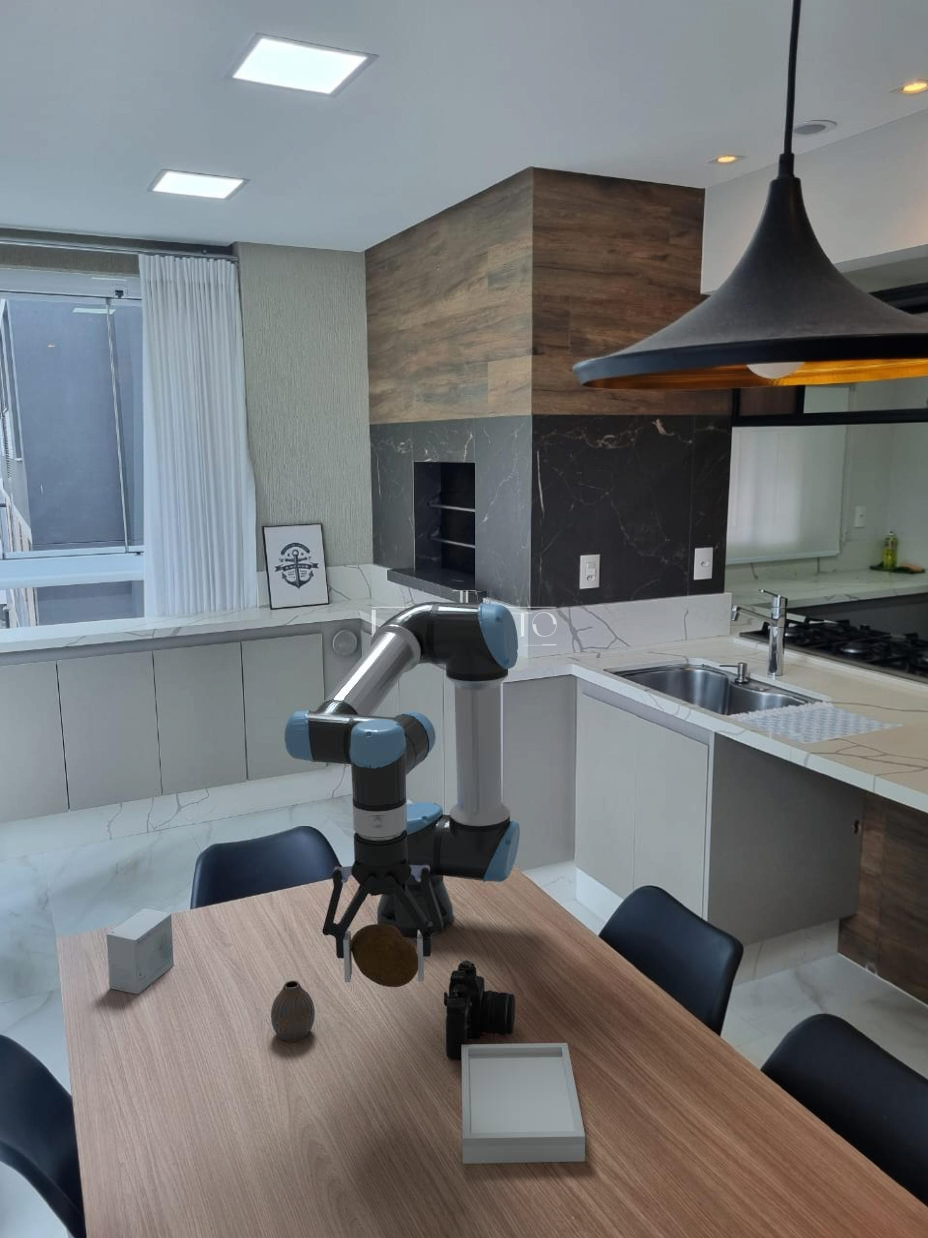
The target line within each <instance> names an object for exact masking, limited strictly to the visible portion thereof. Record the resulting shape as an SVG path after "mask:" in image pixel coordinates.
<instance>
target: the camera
mask: <svg viewBox="0 0 928 1238" xmlns="http://www.w3.org/2000/svg"><path fill="white" fill-rule="evenodd" d="M450 974H451V975H450V977H449V981H450V982H449V985H448V993H447V992H446V991H444V993H443V1005H444V1006H445V1010H446V1012H445V1013H446V1017H445V1053H446V1057H447V1058H448V1059H450V1060H454V1061H455V1060H456V1061H462V1045H469V1044H470V1041H472V1040H480V1039H481V1037H482V1035H483V1034H486V1035H496V1036H506V1035H512V1034H514V1030H515V1029H514V1028H515V1020H516V1019H515V1017H516V996H515V993H514V994H513V993H509V992H503V991H502V992H499V991H495V990H494V991H493V990H492V989H491V990H486V989H485V978H484V977H483V976H480V975H478V973H477V967H476V966H475V964H474V963H473V962H472V961H471V960H467V959H466V960H462V961H461V962H460V963H459V964H458V966H457V970H453V971H452V972H451V973H450Z"/></svg>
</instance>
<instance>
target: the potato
mask: <svg viewBox="0 0 928 1238" xmlns="http://www.w3.org/2000/svg"><path fill="white" fill-rule="evenodd" d="M351 954H352V959H353V960H354V962H355V965H356V967H357V968H358V969H359V971H360V973H361V974H362V975H363V976H365V977H366V978H367V979H368V980H369V981H372V982H374V983H375V984H377V985H380V986H383V987H386V988H387V987H388V988H399V987H403V986H405V985H407V984H409V983H410V982H411V981H412V980H413V979H414V978H415V976H416V975H417V974H418V953H417V949H416V948H415V946H414V945H413V944H412V943H411V942H410V941H408V940H407V939H406V937H405V936H402V934H401V932H400V931H399V930H398V929H397V928H396V927H395V926H392V925H387V924H378V923H376V924H367V925H366V926H363V927H362V928H360V929H359V930H357V931H356V932H355V934H354V935H353V936H352V937H351Z"/></svg>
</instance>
